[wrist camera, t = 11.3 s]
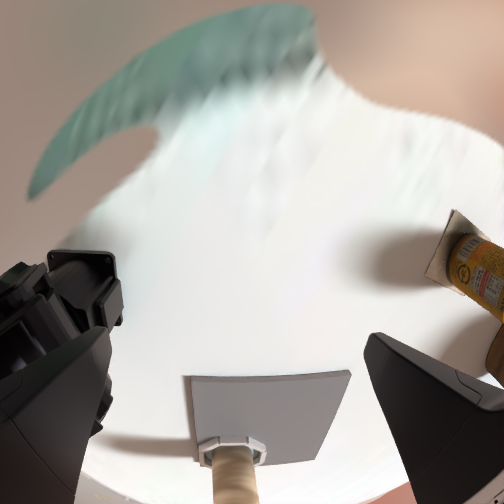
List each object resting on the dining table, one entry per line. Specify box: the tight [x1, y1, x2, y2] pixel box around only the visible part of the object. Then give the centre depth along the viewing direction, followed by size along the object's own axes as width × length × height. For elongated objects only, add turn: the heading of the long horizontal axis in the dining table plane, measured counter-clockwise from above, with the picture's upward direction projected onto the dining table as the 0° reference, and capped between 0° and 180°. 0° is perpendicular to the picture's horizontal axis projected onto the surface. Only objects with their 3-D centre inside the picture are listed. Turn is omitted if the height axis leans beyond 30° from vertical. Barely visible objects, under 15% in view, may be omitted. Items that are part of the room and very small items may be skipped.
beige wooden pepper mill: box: [212, 445, 259, 504], centre depth 22 cm, size 5×5×15 cm
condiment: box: [425, 210, 504, 323], centre depth 19 cm, size 7×8×12 cm
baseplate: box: [191, 370, 352, 469], centre depth 28 cm, size 16×18×2 cm
